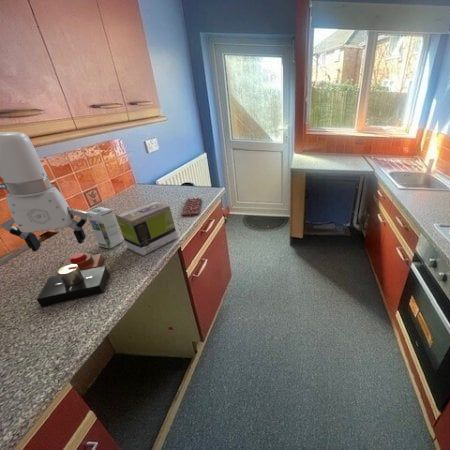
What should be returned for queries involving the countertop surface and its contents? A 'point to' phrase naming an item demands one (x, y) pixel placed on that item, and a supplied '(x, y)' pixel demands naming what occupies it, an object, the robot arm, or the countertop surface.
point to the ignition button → (77, 257)
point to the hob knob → (70, 274)
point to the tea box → (147, 227)
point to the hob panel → (73, 287)
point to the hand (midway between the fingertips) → (60, 244)
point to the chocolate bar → (192, 207)
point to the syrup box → (105, 227)
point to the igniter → (86, 262)
